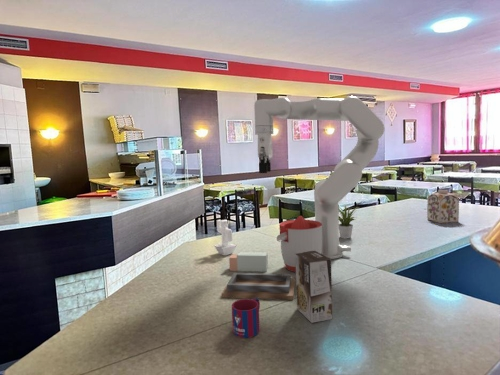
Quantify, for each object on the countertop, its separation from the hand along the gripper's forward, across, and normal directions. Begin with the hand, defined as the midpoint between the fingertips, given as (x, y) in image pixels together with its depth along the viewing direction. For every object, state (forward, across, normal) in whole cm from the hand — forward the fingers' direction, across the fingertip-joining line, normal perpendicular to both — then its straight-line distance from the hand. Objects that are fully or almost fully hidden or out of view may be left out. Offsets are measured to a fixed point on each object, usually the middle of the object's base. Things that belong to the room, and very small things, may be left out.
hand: (265, 172), depth 140 cm
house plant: (+35, +33, -36) cm, 60 cm away
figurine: (+36, +1, +19) cm, 41 cm away
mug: (+36, -59, -5) cm, 69 cm away
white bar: (+36, -17, +4) cm, 40 cm away
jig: (+36, -35, -3) cm, 50 cm away
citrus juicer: (+36, -15, -15) cm, 41 cm away
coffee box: (+36, -50, -21) cm, 65 cm away
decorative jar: (+34, +71, -92) cm, 121 cm away
